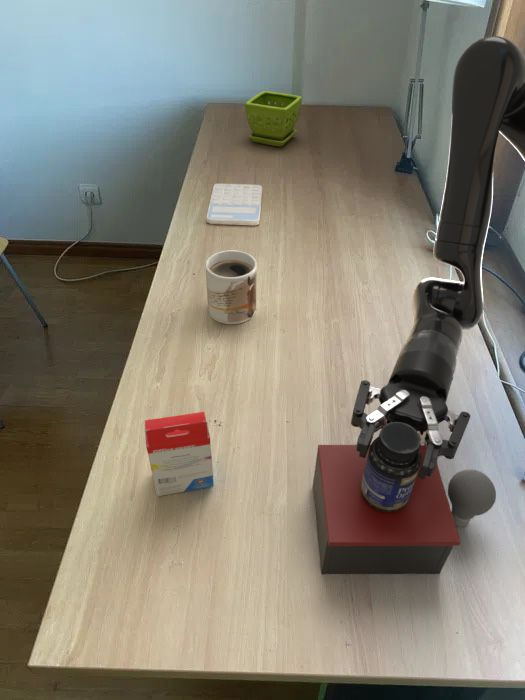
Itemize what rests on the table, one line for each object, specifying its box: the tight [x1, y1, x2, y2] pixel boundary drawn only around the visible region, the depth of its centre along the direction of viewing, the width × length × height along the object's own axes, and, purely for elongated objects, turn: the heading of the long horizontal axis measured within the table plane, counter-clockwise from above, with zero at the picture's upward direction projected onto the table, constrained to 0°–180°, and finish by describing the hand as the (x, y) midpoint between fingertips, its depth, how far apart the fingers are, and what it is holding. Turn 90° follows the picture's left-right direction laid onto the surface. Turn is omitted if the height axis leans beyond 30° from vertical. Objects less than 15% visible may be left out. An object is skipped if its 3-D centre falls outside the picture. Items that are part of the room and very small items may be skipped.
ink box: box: [144, 411, 215, 497], centre depth 79 cm, size 8×5×15 cm, turn 102°
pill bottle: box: [361, 422, 422, 513], centre depth 68 cm, size 6×6×11 cm
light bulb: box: [447, 468, 497, 528], centre depth 76 cm, size 6×6×10 cm
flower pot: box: [244, 90, 303, 148], centre depth 177 cm, size 14×14×13 cm
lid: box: [317, 444, 461, 547], centre depth 72 cm, size 14×16×1 cm
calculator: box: [205, 183, 263, 226], centre depth 146 cm, size 13×20×2 cm, turn 178°
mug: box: [204, 249, 258, 325], centre depth 111 cm, size 10×12×11 cm
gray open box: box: [312, 450, 454, 575], centre depth 75 cm, size 14×16×9 cm
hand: (392, 463), depth 64 cm, fingers open, 6 cm apart
